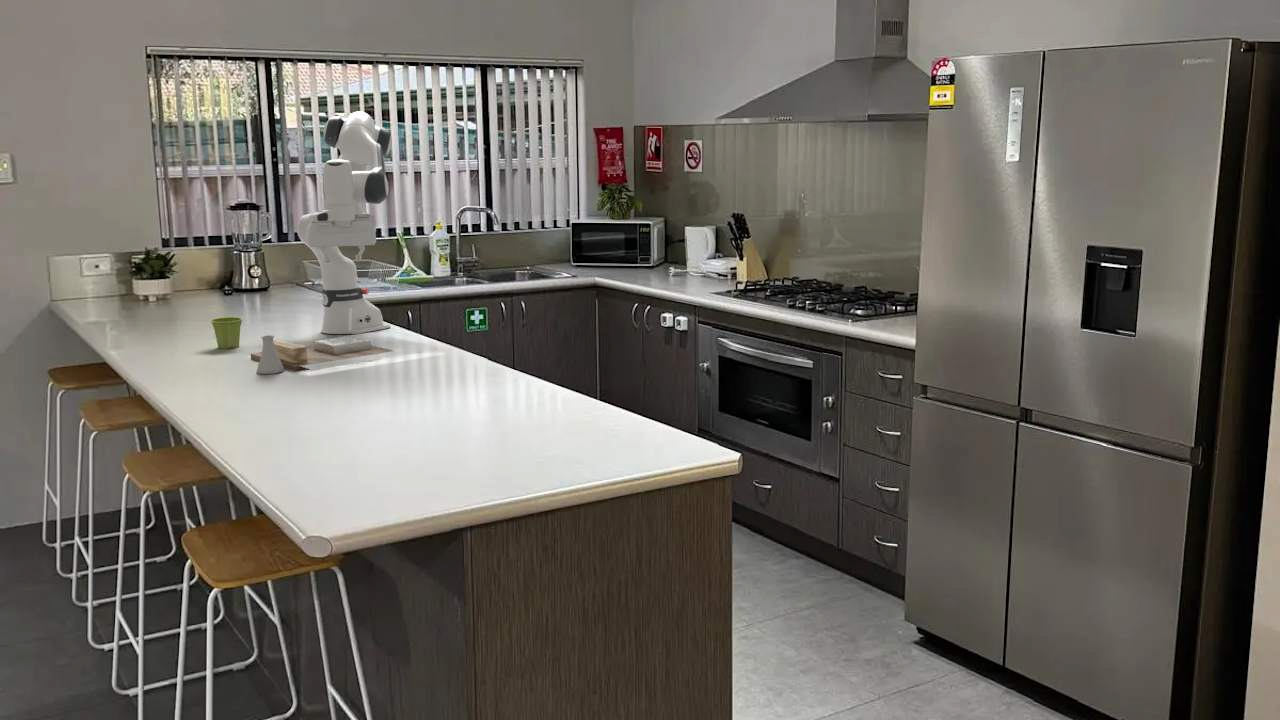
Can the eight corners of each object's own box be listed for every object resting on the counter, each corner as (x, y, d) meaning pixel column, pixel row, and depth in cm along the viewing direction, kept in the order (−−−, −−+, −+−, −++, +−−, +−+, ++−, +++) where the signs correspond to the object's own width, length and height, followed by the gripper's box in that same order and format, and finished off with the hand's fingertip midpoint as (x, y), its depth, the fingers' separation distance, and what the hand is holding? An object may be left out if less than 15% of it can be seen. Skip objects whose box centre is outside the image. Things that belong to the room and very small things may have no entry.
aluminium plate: (351, 344, 348) (350, 335, 347) (371, 348, 339) (371, 340, 338) (314, 349, 340) (313, 341, 339) (334, 354, 331) (333, 345, 330)
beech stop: (277, 352, 335) (276, 339, 334) (307, 360, 322) (306, 346, 321) (264, 354, 332) (263, 341, 332) (294, 362, 319) (292, 348, 319)
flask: (276, 375, 311) (273, 338, 309) (251, 374, 312) (248, 338, 310) (289, 369, 318) (286, 334, 316) (265, 369, 319) (262, 333, 317)
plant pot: (250, 344, 359) (247, 316, 357) (236, 350, 350) (234, 321, 348) (221, 344, 360) (218, 317, 358) (207, 350, 351) (204, 321, 349)
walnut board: (347, 344, 356) (346, 339, 355) (395, 355, 335) (394, 350, 335) (250, 358, 335) (250, 353, 335) (296, 371, 315) (295, 366, 314)
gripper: (372, 213, 350) (374, 259, 352) (303, 215, 341) (306, 262, 343) (377, 214, 344) (380, 260, 346) (307, 216, 335) (310, 263, 337)
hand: (342, 261), depth 344 cm, fingers open, 8 cm apart
